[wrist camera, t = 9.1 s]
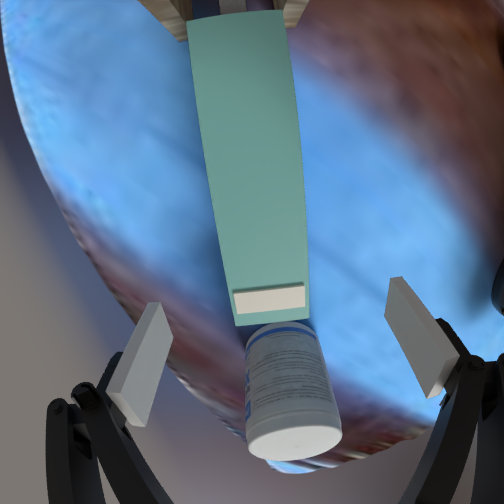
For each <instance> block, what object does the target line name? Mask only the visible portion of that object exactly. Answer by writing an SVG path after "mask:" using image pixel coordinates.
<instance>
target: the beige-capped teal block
mask: <svg viewBox="0 0 504 504" xmlns="http://www.w3.org/2000/svg"><path fill="white" fill-rule="evenodd" d="M186 25H187V34H188V42H189V51H190V59H191V67H192V75H193V82H194V90H195V97H196V104H197V111H198V118H199V125H200V132H201V138H202V145H203V151H204V157H205V164H206V170H207V176H208V182H209V188H210V194H211V200H212V206H213V211H214V217H215V223H216V228H217V234H218V239H219V244H220V250H221V255H222V260H223V266H224V271H225V276H226V281H227V286H228V291H229V296H230V301H231V306H232V311H233V316H234V321H235V325H236V326H245V325H255V324H265V323H274V322H283V321H291V320H299V319H307V318H309V270H308V242H307V221H306V204H305V189H304V175H303V163H302V152H301V141H300V131H299V122H298V113H297V104H296V96H295V88H294V80H293V73H292V66H291V59H290V53H289V46H288V40H287V34H286V28H285V22H284V17H283V11H282V10H262V11H250V12H240V13H232V14H224V15H218V16H212V17H206V18H201V19H196V20H191V21H186Z"/></svg>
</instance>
